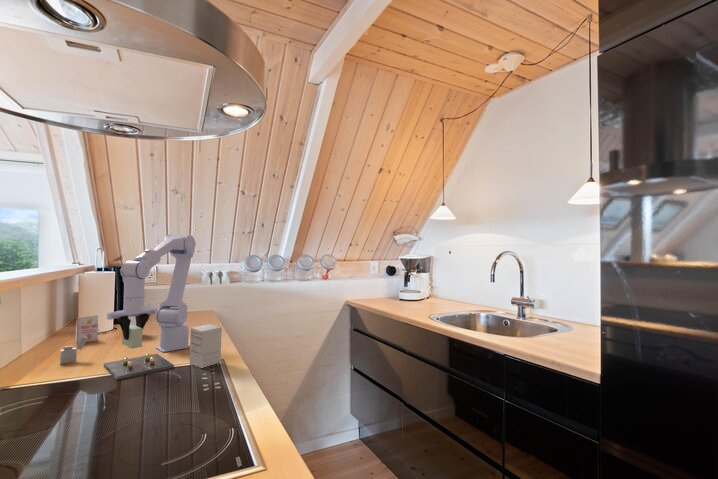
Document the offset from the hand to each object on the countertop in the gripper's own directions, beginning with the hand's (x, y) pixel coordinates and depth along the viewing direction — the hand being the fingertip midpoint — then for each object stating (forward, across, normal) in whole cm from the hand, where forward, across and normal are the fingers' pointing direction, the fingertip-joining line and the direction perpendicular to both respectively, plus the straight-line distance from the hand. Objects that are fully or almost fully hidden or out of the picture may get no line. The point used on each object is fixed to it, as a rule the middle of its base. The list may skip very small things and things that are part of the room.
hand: (132, 338), depth 121 cm
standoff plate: (+9, -1, +3) cm, 10 cm away
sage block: (+2, 0, 0) cm, 2 cm away
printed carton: (+9, 0, -43) cm, 44 cm away
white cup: (+9, -16, -40) cm, 43 cm away
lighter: (+9, +11, -18) cm, 23 cm away
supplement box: (+9, -17, +16) cm, 25 cm away
